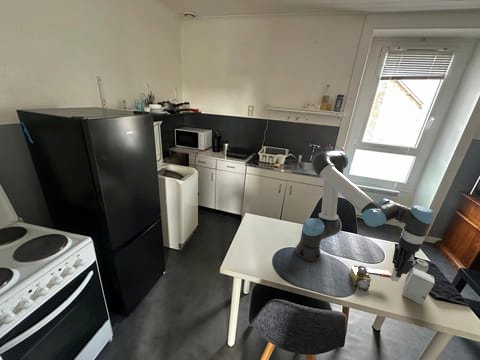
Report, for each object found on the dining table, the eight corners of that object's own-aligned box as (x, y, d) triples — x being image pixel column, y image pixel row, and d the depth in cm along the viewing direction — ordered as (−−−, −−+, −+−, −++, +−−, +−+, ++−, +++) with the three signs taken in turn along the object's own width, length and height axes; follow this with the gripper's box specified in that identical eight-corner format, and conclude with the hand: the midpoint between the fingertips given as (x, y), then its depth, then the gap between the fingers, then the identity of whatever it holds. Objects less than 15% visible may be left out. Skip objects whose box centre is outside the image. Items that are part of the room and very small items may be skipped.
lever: (359, 274, 107) (360, 271, 106) (356, 268, 111) (356, 265, 111) (391, 279, 105) (392, 276, 104) (386, 272, 109) (388, 269, 109)
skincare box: (401, 295, 104) (412, 273, 99) (402, 287, 108) (412, 266, 103) (422, 305, 99) (435, 283, 94) (422, 297, 103) (434, 275, 98)
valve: (370, 292, 105) (374, 283, 103) (356, 289, 106) (359, 280, 104) (360, 272, 117) (363, 264, 115) (348, 270, 118) (350, 262, 115)
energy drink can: (414, 289, 108) (425, 268, 102) (402, 280, 113) (412, 259, 107) (421, 286, 110) (432, 264, 104) (409, 277, 115) (419, 256, 110)
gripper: (431, 250, 83) (411, 292, 92) (411, 231, 95) (395, 270, 104) (411, 248, 84) (393, 290, 92) (393, 229, 96) (379, 268, 105)
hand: (394, 279), depth 98 cm, fingers closed
